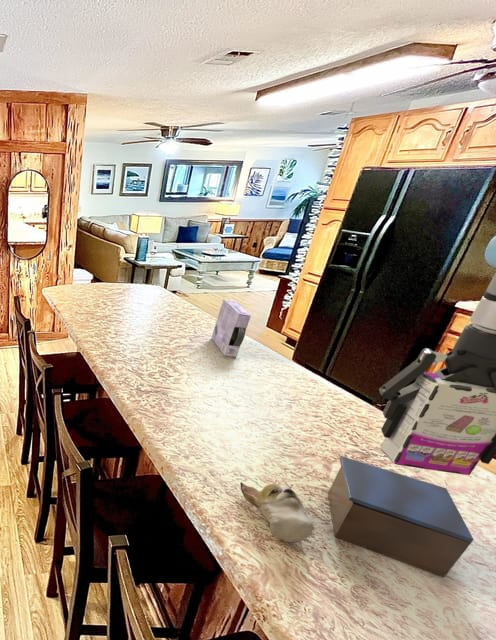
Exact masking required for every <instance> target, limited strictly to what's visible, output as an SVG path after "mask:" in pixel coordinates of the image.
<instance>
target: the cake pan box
mask: <svg viewBox="0 0 496 640" xmlns="http://www.w3.org/2000/svg"><path fill="white" fill-rule="evenodd" d="M250 320H251V314H250V313H249V312H248V311H246V310H245V309H244V308H243V307H242V306H241V305H240V304H239V303H238V302H237V301H236V300H235V299H225V298H224V299H223V300H222V302H221V305H220V309H219V312H218V315H217V318H216V322H215V326H214V327H213V331H212V334H211V339H210V340H212V341H213V342H214V344H215V346H216V347H217V348H218V350H219V351H220V352H221V354H223V356H224V357H227V358H237V356H238V354H239V351H240V348H241V345H242V344H243V342H244V339H245V336H246V332H247V328H248V326H249V323H250Z"/></svg>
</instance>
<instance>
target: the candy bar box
mask: <svg viewBox="0 0 496 640" xmlns="http://www.w3.org/2000/svg"><path fill="white" fill-rule="evenodd" d="M445 376H448V375H445ZM413 383H414V384H413ZM413 383H412V384H413V386H414V387H419V388H420V390H419V392H418V394H417V396H416V397H415V398H414V399H412V400H410V401H408V402H405V403H404V404H405V406H406V410H405V412H404V413H403V415H402V417H401V419H400V421H399V422H398V424H397V426H396V428H395V430H394V431H393V433H392V435H391V437H390V438H386V437H384V440H383V441H382V444H381V445H380V447H379V448H380V450H381V452H382V453H383V454H384V455H385V456H386V457H387V458H388V459H389V460H390V461H391V462H392V463H393V464H394V465H397V466H401V467H402V466H403V467H409V468H414V469H415V468H416V469H422V470H429V471H436V472H443V473H450V474H458V475H464V476H470V475H472V472H473V471H474V470H475V468H476V467H477V465H478V463H479V462H481V460H480V459H481V457H482V456H483V454H484V453H485V452H486V450H487V448H488V447H489V445H490V444H491V443H492V441H493V439H494V438H495V436H496V389H495V387H492V388H489V387H484V386H479V385H474V384H469V383H463V382H458V381H457V382H450V381H445V380H441V379H440V377H439V376H438V375H437V374H435V372H426V371H425V372H424V373H422V374H421V375H420V376H418V377H417V378H416V379H414V382H413Z"/></svg>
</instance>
